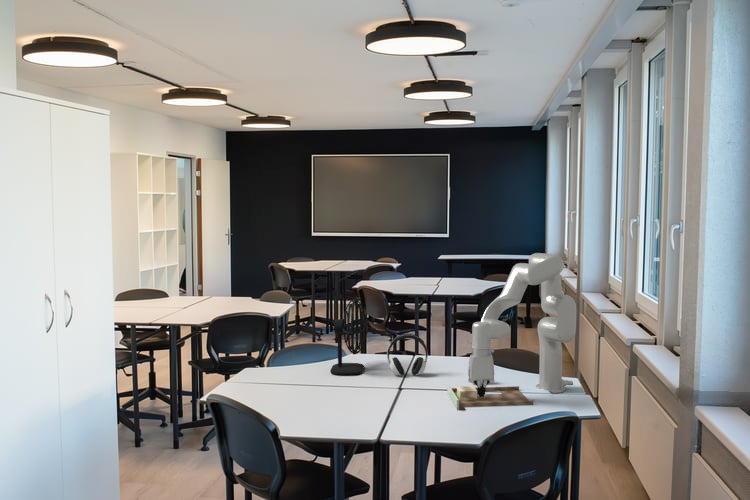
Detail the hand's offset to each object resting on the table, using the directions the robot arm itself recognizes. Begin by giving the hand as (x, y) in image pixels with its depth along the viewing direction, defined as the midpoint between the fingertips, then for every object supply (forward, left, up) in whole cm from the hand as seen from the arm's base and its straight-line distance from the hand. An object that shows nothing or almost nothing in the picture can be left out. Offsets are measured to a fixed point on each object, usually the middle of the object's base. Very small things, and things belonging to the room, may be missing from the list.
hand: (481, 396), depth 289 cm
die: (-5, -26, -2) cm, 27 cm away
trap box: (-3, 0, -2) cm, 3 cm away
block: (+6, -1, -1) cm, 6 cm away
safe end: (+12, 0, -2) cm, 12 cm away
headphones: (+25, -44, -2) cm, 51 cm away
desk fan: (+52, -56, -2) cm, 77 cm away
